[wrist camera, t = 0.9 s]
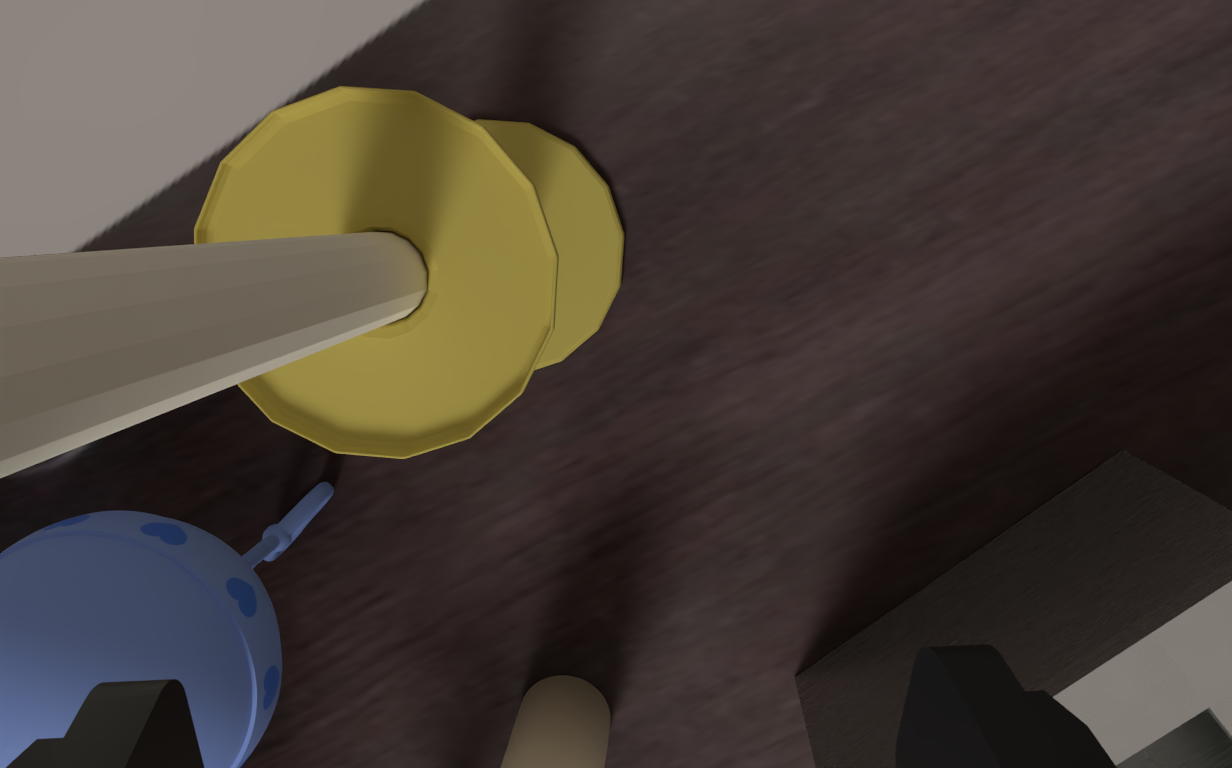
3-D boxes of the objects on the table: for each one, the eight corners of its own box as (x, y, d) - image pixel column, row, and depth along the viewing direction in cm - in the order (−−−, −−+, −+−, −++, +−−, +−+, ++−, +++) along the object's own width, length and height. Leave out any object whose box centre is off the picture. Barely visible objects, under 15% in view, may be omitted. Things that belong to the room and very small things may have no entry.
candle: (677, 227, 35) (747, 386, 3) (523, 425, 37) (-370, 1731, 5) (470, 63, 35) (-1881, -1681, 3) (324, 272, 36) (-2113, 704, 5)
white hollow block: (1122, 449, 36) (1289, 543, 26) (1307, 690, 37) (1531, 866, 27) (794, 677, 39) (832, 839, 29) (977, 893, 40) (1073, 1118, 30)
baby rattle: (296, 361, 37) (-47, 506, 20) (457, 498, 38) (264, 755, 20) (177, 509, 39) (-237, 763, 21) (333, 637, 40) (56, 986, 22)
